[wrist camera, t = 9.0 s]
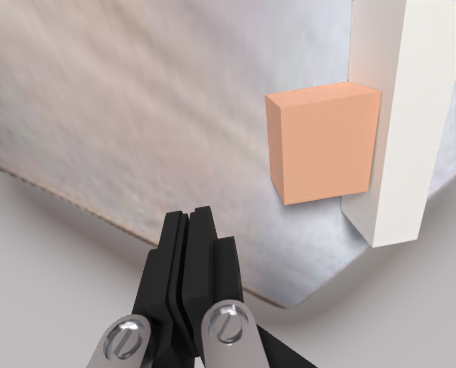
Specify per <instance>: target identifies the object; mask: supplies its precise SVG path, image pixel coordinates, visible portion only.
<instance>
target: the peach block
mask: <svg viewBox="0 0 456 368" xmlns="http://www.w3.org/2000/svg"><path fill="white" fill-rule="evenodd" d="M381 92H382V91H379V90H375V89H372V88H368V87H365V86H361V85H358V84H354V83H351V82H348V81H347V82H340V83H334V84H328V85H322V86H316V87H310V88H304V89H298V90H292V91H286V92H280V93H273V94H267V95H265V100H266V114H267V129H268V144H269V158H270V173H271V180H272V182H273V184H274V185H275V187H276V189H277V191H278V193H279V195H280V197H281V199H282V201H283V203H284V205H289V204H295V203H301V202H307V201H313V200H318V199H324V198H330V197H336V196H342V195H348V194H353V193H359V192H365V191H368V186H369V178H370V171H371V164H372V157H373V150H374V142H375V135H376V128H377V121H378V114H379V106H380V99H381Z"/></svg>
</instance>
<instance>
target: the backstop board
mask: <svg viewBox="0 0 456 368" xmlns="http://www.w3.org/2000/svg"><path fill="white" fill-rule="evenodd" d="M455 80H456V0H352V16H351V34H350V53H349V71H348V82H351V83H354V84H358V85H361V86H365V87H368V88H372V89H375V90H379V91H382V92H381V99H380V106H379V114H378V121H377V128H376V135H375V142H374V150H373V157H372V164H371V171H370V178H369V186H368V191H365V192H359V193H353V194H348V195H342V199H341V210H342V212H343V213H344V214H345V215H346V216H347V218H348V219H349V220H350V221H351V222H352V224H353V225H354V226H355V227H356V229H357V230H358V231H359V232H360V233H361V235H362V236H363V237H364V238H365V239H366V241H367V242H368V243H369V244H370V245H371V247H372V248H374V247H379V246H385V245H389V244H394V243H400V242H406V241H411V240H415V239H417V237H418V233H419V228H420V225H421V220H422V216H423V212H424V208H425V204H426V200H427V196H428V192H429V188H430V183H431V179H432V175H433V171H434V167H435V163H436V159H437V155H438V150H439V146H440V142H441V138H442V134H443V130H444V126H445V122H446V117H447V113H448V109H449V105H450V101H451V97H452V93H453V89H454V85H455Z"/></svg>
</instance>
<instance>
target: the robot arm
mask: <svg viewBox="0 0 456 368" xmlns="http://www.w3.org/2000/svg"><path fill="white" fill-rule="evenodd" d="M199 356H200V357H201V360H202V362H203V364H204V367H205V368H317V367H316V366H315V365H313V364H312V363H310V362H309V361H308V360H306V359H305V358H303V357H302V356H301V355H299V354H298V353H296V352H295V351H293V350H292V349H291V348H289V347H288V346H286V345H285V344H284V343H282V342H281V341H280V340H278V339H277V338H275V337H273V336H272V335H271V334H270V333H268V332H267V331H265V330H264V329H263V328H261V327H260V326H258V325H257V324H256V323H255V320H254V317H253V314H252V312H251V310H250V309H249V308H248V307H247V306H246V305H245V304H244V301H243V292H242V284H241V275H240V268H239V261H238V255H237V249H236V244H235V240H234V236H232V237H226V238H220V239H218V237H217V233H216V229H215V225H214V221H213V217H212V212H211V208H210V206H205V207H199V208H195V212H192V213H190V220H189V217H188V214H187V213H186V214H183V213H182V211H175V212H169V213H166V216H165V220H164V225H163V229H162V233H161V237H160V241H159V245H158V249H152V250H150V251H149V254H148V257H147V260H146V264H145V268H144V271H143V274H142V278H141V282H140V285H139V289H138V292H137V296H136V300H135V304H134V307H133V310H132V314H131V315H127V316H125V317H122V318H120V319H118V320H117V321H116V322H114V323H113V324H112V325H111V326H110V327H109V328H108V329H107V330H106V331H105V333H104V334H103V336H102V337H101V339H100V341H99V343H98V345H97V347H96V349H95V351H94V353H93V355H92V357H91V360H90V361H89V364H88V366H87V367H86V368H194V363H195V357H199Z"/></svg>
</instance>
